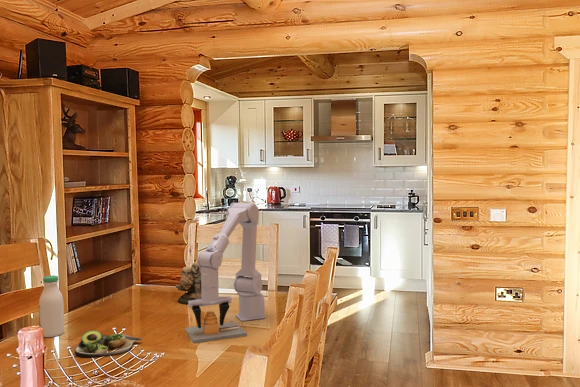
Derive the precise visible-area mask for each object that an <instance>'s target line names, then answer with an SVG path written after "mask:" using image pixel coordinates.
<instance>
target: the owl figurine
mask: <svg viewBox="0 0 580 387" xmlns="http://www.w3.org/2000/svg"><path fill="white" fill-rule="evenodd" d="M179 278H180V280H179V284H175V288H177V290H178V291H181V292H184V293H183V294H182V295H180V297H178V299H177V301H178V303H180V304H182V305H188V301H192V300H197V299H202V291H201V273H200V268H199V266H198V264H197V261H194V262H193V263H192V264H191V266H190V267H189V265H188V266H184V267H183V268H182V269H181V276H180V277H179Z"/></svg>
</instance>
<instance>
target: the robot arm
mask: <svg viewBox="0 0 580 387" xmlns="http://www.w3.org/2000/svg"><path fill="white" fill-rule="evenodd" d="M259 210H260V208H259V207H258V205H257V204H256V203H255V202H250V203H247V202H231V203H230V205H229V207H228V208H227V218H226V219H225V221H224V224H223V225H222V227H221V230H220V231H219V233H215V234H214V235H213V237H212V239H211V240H210V243H209V244H208V246H207V247H206V249H205V250H203V251H201V252H200V253H199V254H198V257H197V260H196V262H197V264H198V266H199V268H200V273H201V291H202V299H197V300H192V301H188V304H187V306H188V308H189V309H191V310H192V312H193V314H194V317H195V320H196V325H197V326H198V328H201V326H202V321H201V320H202V319H201V317H202V309H201V307H204V306H215V305H218V306H219V307H218V308H219V323H220V325H221V326H222V325H223V323H225V318H226V315H227V313H228V311H229V308H230V304H232V302H233V300H232V297H231V296H219V293H220V292H219V268H220V267H221V266H222V263H223V257H224V252H225V251H226V249H227V248H228V245H229V244H230V240H229V237H230V236H231V235H232V233H233V232H234V231H235V229H236V227H237V226H238V225H240V226H241V227H242V244H241V268H240V269H239V270H238V271H237V272H236V273H235V279H234V281H233V288H234V291H235V292H236V294H237V295H238V313H237V314H235V317H236V318H237V319H239V320H240V321H241V322H244V321H245V322H246V321H252V320H254V321H255V320H261V319H265V318H266V316H265V315H266V314H265V312H266V311H265V310H266V309H265V297H264V294H263V293H262V291H263V281H262V274H261V273H260V272H259V271H258V270H257V269H256V258H257V257H256V252H257V234H258V232H257V231H258V224H259V215H260V214H259Z"/></svg>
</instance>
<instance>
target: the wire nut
mask: <svg viewBox="0 0 580 387" xmlns="http://www.w3.org/2000/svg"><path fill="white" fill-rule="evenodd" d="M219 323H220V322H218V317H216V313H215V312H214V311H207V312H206V313H205V315H204V317H203V321H201V326H202V331H203V332H204V334H205V335H208V334H215V333H219Z"/></svg>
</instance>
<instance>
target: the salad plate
mask: <svg viewBox="0 0 580 387" xmlns="http://www.w3.org/2000/svg"><path fill="white" fill-rule="evenodd" d="M142 340H143V338H141V337H134V336H131V335H128V334H122V333H113V334H109V335H107V334H106V335H105V334H103V333H102V332H100V331H99V330H93V329H92V330H88V331H86V332H85V333H83V334H82V336H81V337H80V341H79V343H78V344H77V347H76V348H75V351H74V354H75V355H77V357H78V356H79V357H82V358H97V357H106V356H111V355H112V356H113V355H118V354H119V355H120V354H122V353H125V352H127V351H129V350H130V349H131V348H132V346H133V344H134V343H136V342H138V341H142ZM117 349H118V350H117ZM107 350H108V351H107ZM110 350H114V351H110Z"/></svg>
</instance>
